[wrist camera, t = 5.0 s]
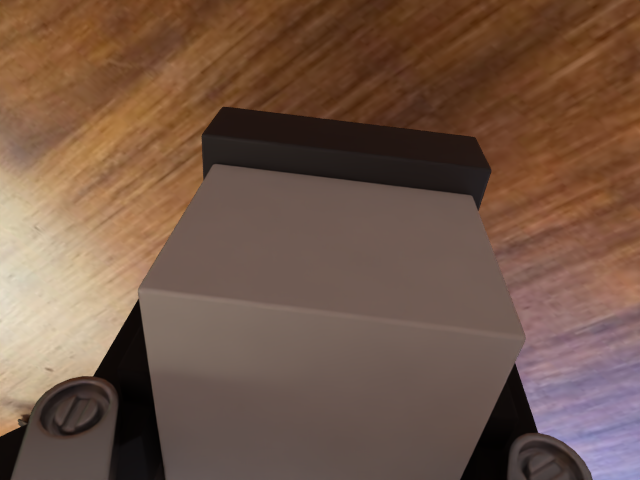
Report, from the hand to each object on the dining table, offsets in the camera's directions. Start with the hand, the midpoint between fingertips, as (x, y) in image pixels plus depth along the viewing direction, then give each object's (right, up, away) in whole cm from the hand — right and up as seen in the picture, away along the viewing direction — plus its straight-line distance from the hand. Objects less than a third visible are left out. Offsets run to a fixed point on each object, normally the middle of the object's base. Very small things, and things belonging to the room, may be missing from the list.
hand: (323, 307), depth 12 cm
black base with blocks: (0, -1, +1) cm, 2 cm away
